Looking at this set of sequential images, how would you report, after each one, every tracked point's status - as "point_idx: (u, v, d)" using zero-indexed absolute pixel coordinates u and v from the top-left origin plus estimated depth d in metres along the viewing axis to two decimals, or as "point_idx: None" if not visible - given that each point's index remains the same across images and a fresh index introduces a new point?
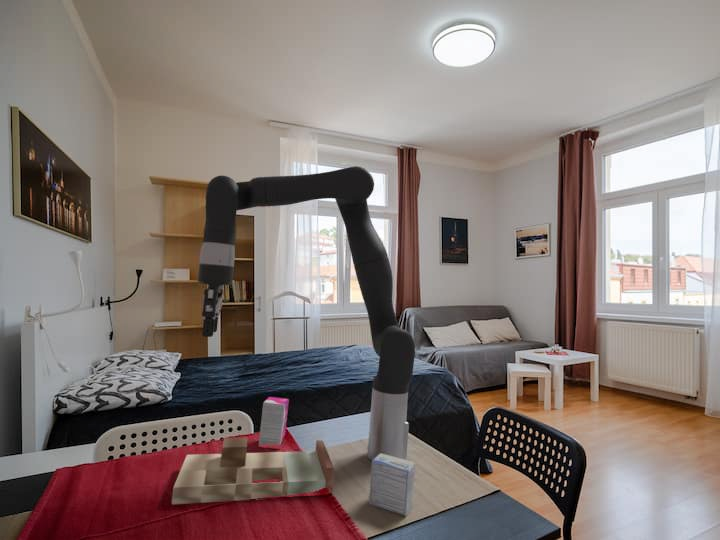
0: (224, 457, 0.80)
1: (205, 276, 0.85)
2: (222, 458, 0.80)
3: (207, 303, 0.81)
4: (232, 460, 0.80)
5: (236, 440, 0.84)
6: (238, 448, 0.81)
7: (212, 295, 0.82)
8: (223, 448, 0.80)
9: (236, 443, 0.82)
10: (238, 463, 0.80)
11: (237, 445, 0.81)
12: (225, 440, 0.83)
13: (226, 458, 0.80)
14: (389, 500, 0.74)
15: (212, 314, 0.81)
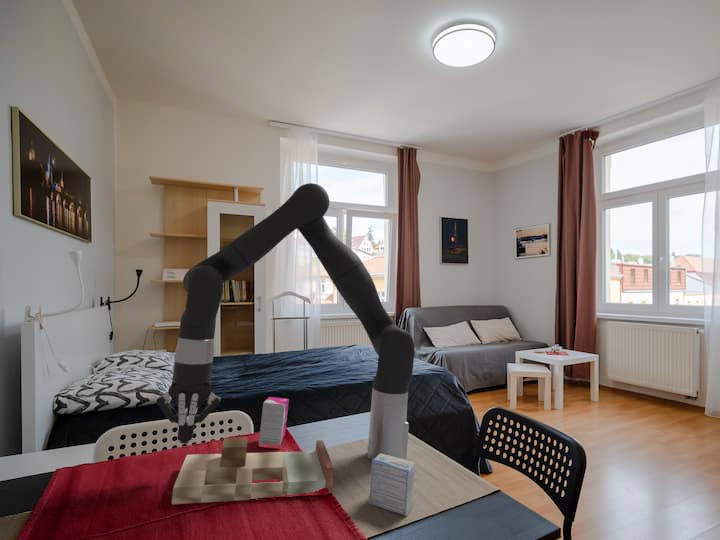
0: (224, 457, 0.80)
1: (207, 377, 0.80)
2: (222, 458, 0.80)
3: None
4: (232, 460, 0.80)
5: (236, 440, 0.84)
6: (238, 448, 0.81)
7: None
8: (223, 448, 0.80)
9: (236, 443, 0.82)
10: (238, 463, 0.80)
11: (237, 445, 0.81)
12: (225, 440, 0.83)
13: (226, 458, 0.80)
14: (389, 500, 0.74)
15: None
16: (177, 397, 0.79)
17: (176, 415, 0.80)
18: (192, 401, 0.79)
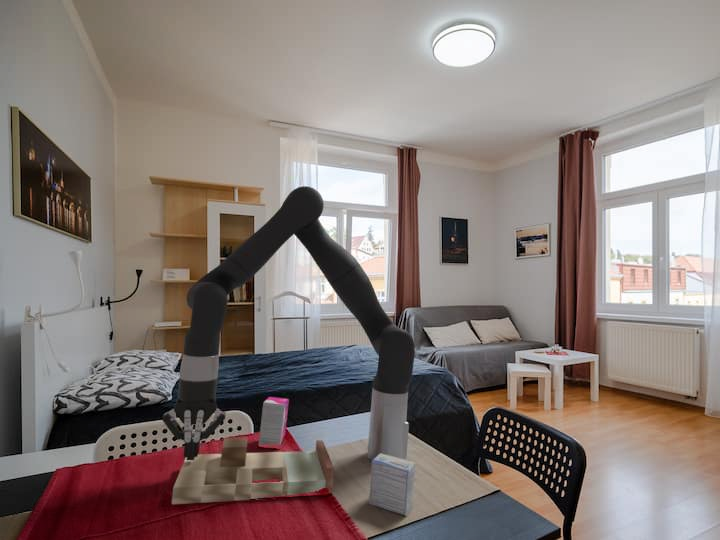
0: (224, 457, 0.80)
1: (213, 393, 0.80)
2: (222, 458, 0.80)
3: (216, 427, 0.82)
4: (232, 460, 0.80)
5: (236, 440, 0.84)
6: (238, 448, 0.81)
7: None
8: (223, 448, 0.80)
9: (236, 443, 0.82)
10: (238, 463, 0.80)
11: (237, 445, 0.81)
12: (225, 440, 0.83)
13: (226, 458, 0.80)
14: (389, 500, 0.74)
15: None
16: (183, 414, 0.79)
17: (182, 432, 0.80)
18: (198, 418, 0.79)
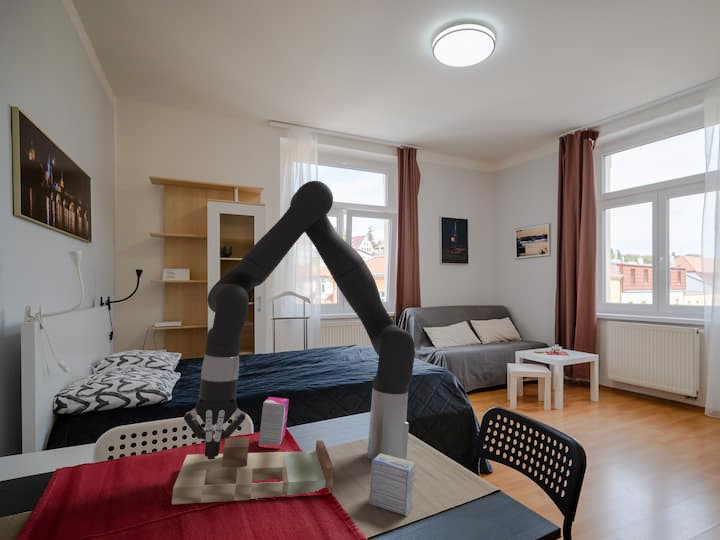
0: (226, 457, 0.80)
1: (233, 393, 0.81)
2: (224, 458, 0.80)
3: None
4: (233, 460, 0.80)
5: (238, 440, 0.84)
6: (239, 447, 0.81)
7: None
8: (225, 448, 0.80)
9: (237, 443, 0.82)
10: (240, 463, 0.81)
11: (238, 445, 0.81)
12: (227, 440, 0.83)
13: (228, 458, 0.80)
14: (389, 500, 0.74)
15: None
16: (204, 414, 0.80)
17: (203, 431, 0.81)
18: (219, 417, 0.80)
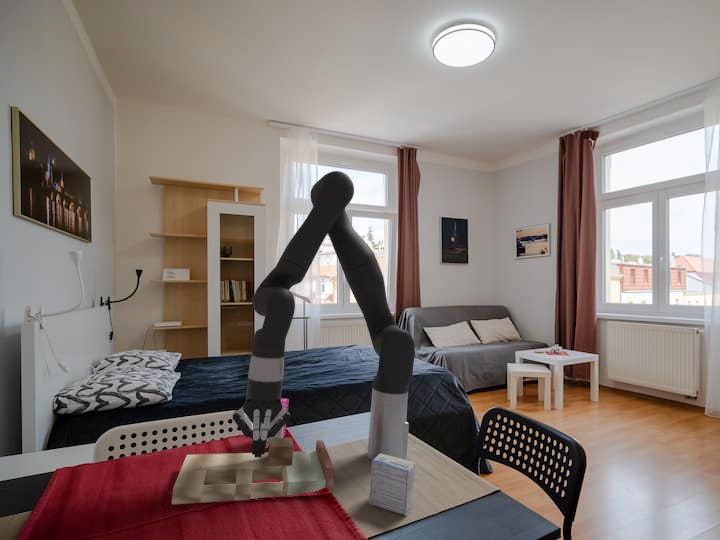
0: (272, 456, 0.82)
1: (280, 393, 0.84)
2: (270, 457, 0.82)
3: None
4: (280, 459, 0.82)
5: (282, 440, 0.86)
6: (285, 447, 0.83)
7: None
8: (271, 447, 0.82)
9: (282, 443, 0.84)
10: (285, 462, 0.83)
11: (284, 445, 0.83)
12: (271, 440, 0.86)
13: (274, 457, 0.82)
14: (389, 500, 0.74)
15: None
16: (251, 413, 0.83)
17: (250, 430, 0.84)
18: (266, 417, 0.83)
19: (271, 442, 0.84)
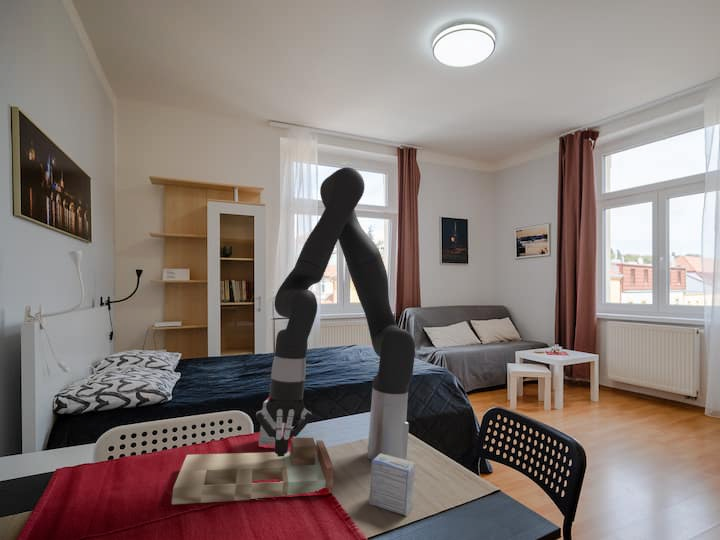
0: (295, 456, 0.83)
1: (302, 393, 0.85)
2: (293, 457, 0.83)
3: None
4: (302, 459, 0.83)
5: (303, 440, 0.87)
6: (308, 447, 0.84)
7: None
8: (294, 447, 0.83)
9: (304, 442, 0.86)
10: (308, 462, 0.84)
11: (306, 445, 0.84)
12: (293, 440, 0.87)
13: (297, 457, 0.83)
14: (389, 500, 0.74)
15: None
16: (274, 413, 0.84)
17: (273, 430, 0.85)
18: (288, 416, 0.84)
19: (293, 442, 0.85)
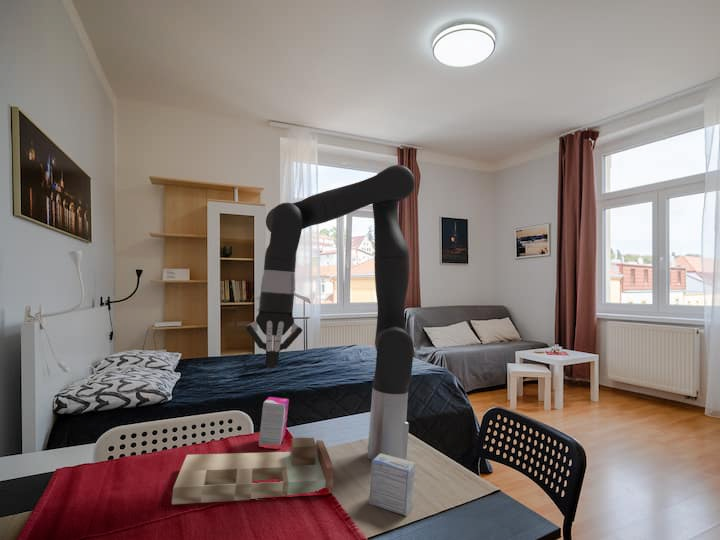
0: (296, 456, 0.83)
1: (291, 306, 0.86)
2: (294, 457, 0.83)
3: None
4: (303, 459, 0.83)
5: (304, 440, 0.87)
6: (308, 447, 0.84)
7: None
8: (295, 447, 0.83)
9: (305, 442, 0.86)
10: (308, 462, 0.84)
11: (307, 445, 0.84)
12: (294, 440, 0.87)
13: (298, 457, 0.83)
14: (389, 500, 0.74)
15: None
16: (264, 325, 0.85)
17: (263, 342, 0.86)
18: (278, 328, 0.85)
19: (294, 442, 0.85)
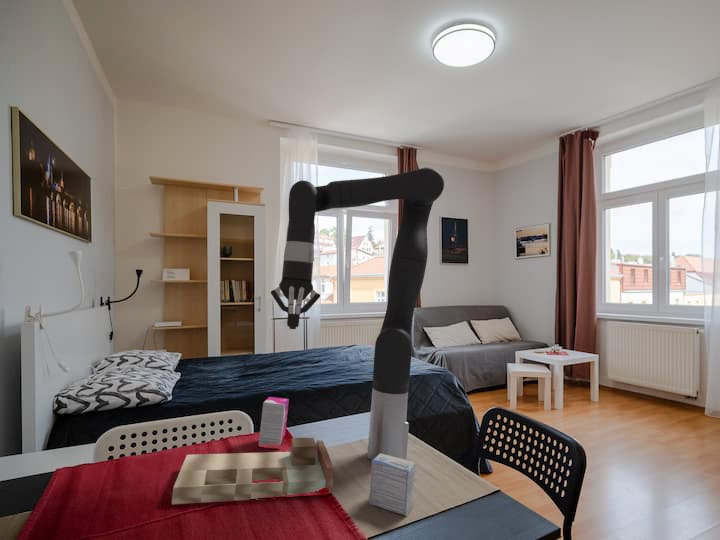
0: (296, 456, 0.83)
1: (311, 274, 0.97)
2: (294, 457, 0.83)
3: (312, 304, 0.98)
4: (303, 459, 0.83)
5: (304, 440, 0.87)
6: (308, 447, 0.84)
7: None
8: (295, 447, 0.83)
9: (305, 442, 0.86)
10: (308, 462, 0.84)
11: (307, 445, 0.84)
12: (294, 440, 0.87)
13: (298, 457, 0.83)
14: (389, 500, 0.74)
15: None
16: (287, 290, 0.95)
17: (285, 306, 0.96)
18: (299, 293, 0.96)
19: (294, 442, 0.85)
